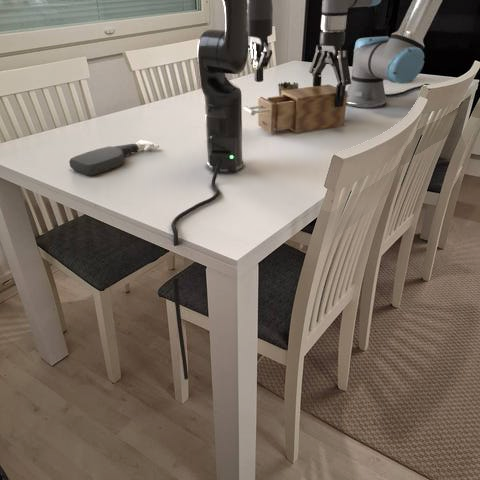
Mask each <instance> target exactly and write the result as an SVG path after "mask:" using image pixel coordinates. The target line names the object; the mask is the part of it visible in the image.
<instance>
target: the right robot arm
mask: <svg viewBox="0 0 480 480" xmlns="http://www.w3.org/2000/svg"><path fill="white" fill-rule="evenodd" d="M381 2H382V0H322V2H321V3H322V5H321V18H320V30H321V31H320V33H319V44H317V45H316V47H315V52H314V56H313V58H312V62H311V64H310V67H309V70H308V71H309V74H311V76H312V87H314V86H321V85H322V78H323V77H322V73H323V71H324V69H325V68H326V66H327V64H328V65H330V66H331V67H332V69H333V71H334V75H335V78H336V82H337V84H336V86H335V87H336V97H335V107H341V106H343V103H344V96H345V91H347V100H346V106H350V107H354V108H362V109H374V108H380V107H383V106H384V105H386V100H387V99H386V98H388V97H389V98H391V97H397V96H402V95H405V94H407V93H409V92H412V91H415V90H419V89H422V88H421V87H422V86H423V85H430V84H429V83H424V84H421V85H418V86H414V87H410V88H408V89H405V90H404V91H401V92H395V93H386V92H385V86H384V85H385V84H384V80H385V81H389V82H391V83H394V84H407V83H409V82H412V81H414V79H416V77H417V76H418V75H419V74H420V73H421V71H422V69H423V67H424V64H425V60H424V59H425V53H424V49H425V44H424V38H425V36H426V35H427V32H428V30H429V28H430V27H431V25H432V22H433V20H434V19H435V17H436V15H437V13H438V10H439V8H440V6H441V5H442V3H443V0H412V1H411V3H410V6H409V7H408V9H407V11H406V13H405V16H404V18H403V20H402V22H401V24H400V26H399V28H398V30H397V31H395V32H392V33H391V35H390V37H389V36H388V35H387V36H385V35H384V36H370V37H361V38H358V39H357V40H356V41H355V44H354V49H353V58H352V70H351V72H350V66H349V61H348V54H349V53H348V50H347V49H345V50H342V46H344V44H345V42H346V41H345V40H346V31H345V30H346V28H347V18H348V11H349V9H350V8H363V7H365V8H366V7H367V8H371V7H375V6H377V5H379V4H380V3H381ZM347 86H348V88H347ZM346 88H347V90H346Z"/></svg>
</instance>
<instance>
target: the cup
mask: <svg viewBox="0 0 480 480" xmlns="http://www.w3.org/2000/svg"><path fill="white" fill-rule="evenodd" d="M299 85H300V84H299V83H298V82H295V81H294V82H293V83H291V82H290V81H288V82H287V81H284V82H280V83H278V84H277V86H278V96H281V91H282V90H290V89H298V88H299Z"/></svg>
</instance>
